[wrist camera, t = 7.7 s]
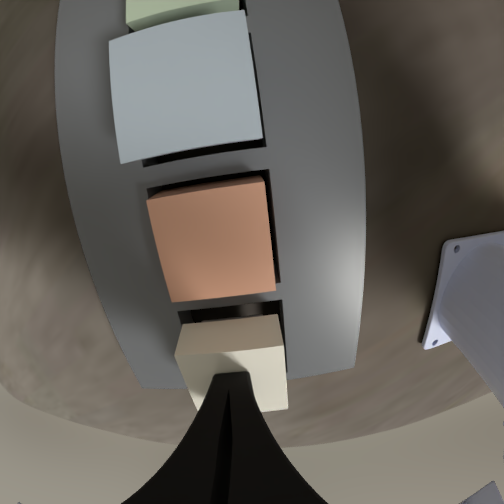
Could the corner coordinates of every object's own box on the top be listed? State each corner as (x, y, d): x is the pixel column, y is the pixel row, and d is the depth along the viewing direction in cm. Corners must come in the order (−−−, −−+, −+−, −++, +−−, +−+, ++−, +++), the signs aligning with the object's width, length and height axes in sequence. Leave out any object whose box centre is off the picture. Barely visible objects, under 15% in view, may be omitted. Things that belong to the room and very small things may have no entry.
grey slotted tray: (308, -42, 7) (316, -61, 5) (343, 344, 15) (354, 367, 14) (79, 2, 7) (61, -10, 6) (149, 365, 16) (142, 388, 14)
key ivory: (274, 301, 12) (283, 345, 9) (280, 364, 14) (288, 408, 11) (186, 311, 12) (174, 355, 9) (205, 371, 14) (200, 415, 11)
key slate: (243, 43, 8) (244, 9, 5) (256, 140, 10) (262, 138, 7) (140, 63, 8) (108, 41, 5) (151, 158, 10) (120, 164, 7)
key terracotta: (258, 172, 12) (264, 181, 9) (268, 258, 13) (276, 290, 10) (167, 186, 12) (146, 200, 9) (184, 269, 13) (172, 302, 10)
